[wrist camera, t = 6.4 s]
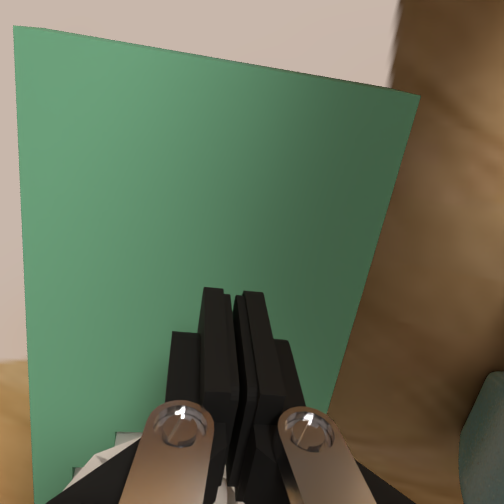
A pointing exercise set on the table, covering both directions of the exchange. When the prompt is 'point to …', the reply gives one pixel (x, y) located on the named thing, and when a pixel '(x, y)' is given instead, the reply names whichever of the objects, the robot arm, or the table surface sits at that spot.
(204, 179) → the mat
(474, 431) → the flower pot
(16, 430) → the table surface
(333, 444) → the robot arm
